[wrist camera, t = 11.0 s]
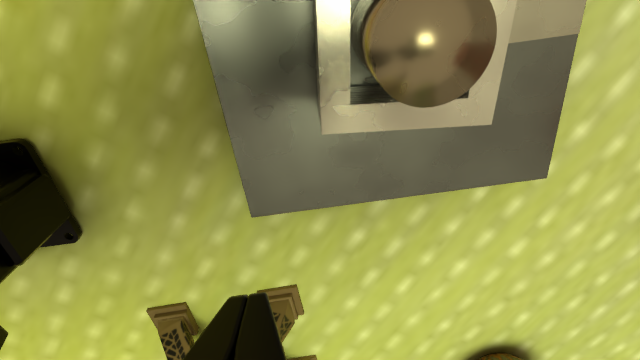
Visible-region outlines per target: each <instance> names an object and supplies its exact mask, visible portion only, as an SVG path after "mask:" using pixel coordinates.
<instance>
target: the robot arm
mask: <svg viewBox="0 0 640 360" xmlns="http://www.w3.org/2000/svg"><path fill="white" fill-rule="evenodd" d="M18 147H20V148H21V149H22V150H23V152H22V151H20V150H19V149H18ZM69 233H70V234H72V235H70V234H69ZM81 236H82V232H81V230H80V228H79V227H78V225H77V223H76V221H75V220H74V218H73V216H72V214H71V213H70V211H69V209H68V207H67V206H66V204H65V202H64V200H63V199H62V197H61V195H60V193H59V192H58V190H57V188H56V186H55V185H54V183H53V181H52V180H51V178H50V176H49V174H48V173H47V171H46V169H45V167H44V166H43V164H42V162H41V160H40V159H39V157H38V155H37V153H36V152H35V150H34V148H33V146H32V145H31V144H30V143H29V142H27V141H26V140H23V139H13V140H6V141H0V284H1V283H2V282H3V281H4V280H5V279H6V278H7V277H8V276H9V275H10V274H11V273H12V272H13V271H14V270H15V269H16V268H17V267H18V266H19V265H22V264H23V263H24V262H25V261H26V260H27V259H28V258H29V257H30V256H31V255H32V254H33V253H34V252H35V251H36V250H37V249H38V248H40V247H47V246H55V245H62V244H70V243H75V242H76V241H78V239H79V238H80V237H81ZM7 335H8V332H7V331H6V330H5V329H4V328H3V327H1V326H0V349H1V347H2V345H3V343H4V341H5V339H6V337H7ZM182 360H287V359H286V356H285V353H284V349H283V346H282V342H281V339H280V336H279V332H278V329H277V325H276V322H275V319H274V315H273V312H272V308H271V305H270V302H269V298H268V295H267V293H266V292H261V293H254V294H250V295H249V296H248V295H238V296H232V297H230V298H229V299H228V300H227V301H226V302H225V303H224V305H223V306H222V307H221V309H220V310H219V311H218V313H217V314H216V315H215V317H214V318H213V319H212V321H211V322H210V323H209V325H208V326H207V327H206V329H205V330H204V331H203V333H202V334H201V335H200V337H199V338H198V339H197V341H196V342H195V343H194V345H193V346H192V347H191V349H190V350H189V351H188V353H187V354H186V355H185V357H184V358H183V359H182Z"/></svg>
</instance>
